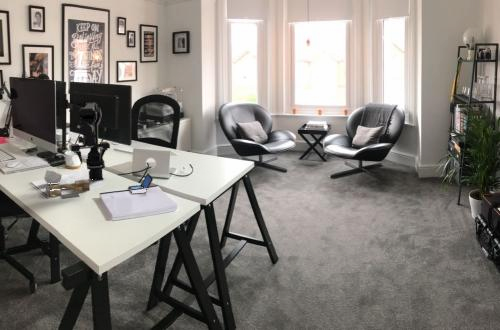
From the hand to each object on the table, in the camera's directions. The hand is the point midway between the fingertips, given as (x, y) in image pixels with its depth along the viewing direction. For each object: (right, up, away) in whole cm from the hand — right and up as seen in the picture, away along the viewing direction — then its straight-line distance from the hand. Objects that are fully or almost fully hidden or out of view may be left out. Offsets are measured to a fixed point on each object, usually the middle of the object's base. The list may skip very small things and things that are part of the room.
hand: (91, 162), depth 222 cm
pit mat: (-6, -16, -11) cm, 21 cm away
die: (-23, -11, +9) cm, 28 cm away
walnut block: (-4, -14, -1) cm, 15 cm away
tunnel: (-12, -15, -5) cm, 19 cm away
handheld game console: (+26, -14, 0) cm, 29 cm away
